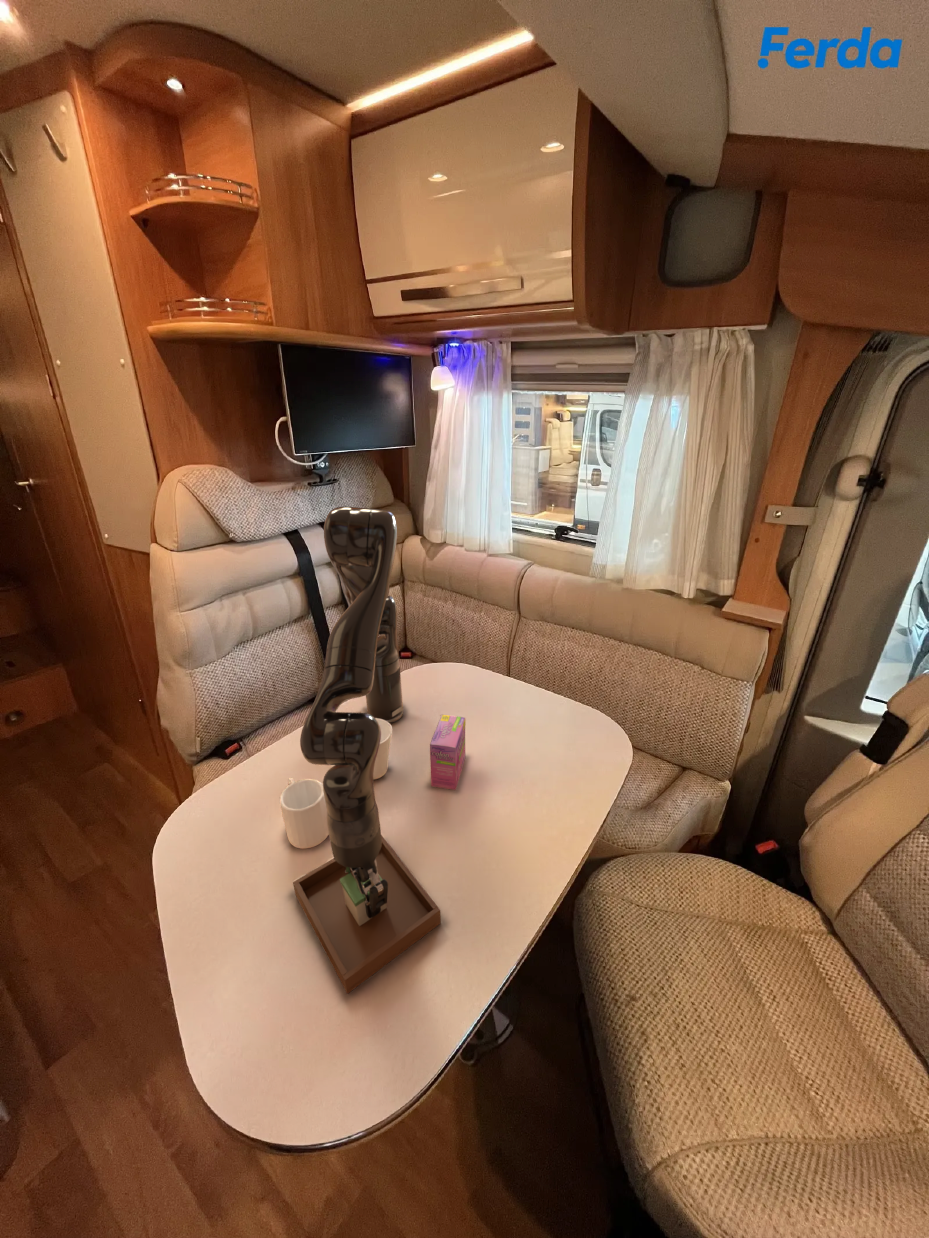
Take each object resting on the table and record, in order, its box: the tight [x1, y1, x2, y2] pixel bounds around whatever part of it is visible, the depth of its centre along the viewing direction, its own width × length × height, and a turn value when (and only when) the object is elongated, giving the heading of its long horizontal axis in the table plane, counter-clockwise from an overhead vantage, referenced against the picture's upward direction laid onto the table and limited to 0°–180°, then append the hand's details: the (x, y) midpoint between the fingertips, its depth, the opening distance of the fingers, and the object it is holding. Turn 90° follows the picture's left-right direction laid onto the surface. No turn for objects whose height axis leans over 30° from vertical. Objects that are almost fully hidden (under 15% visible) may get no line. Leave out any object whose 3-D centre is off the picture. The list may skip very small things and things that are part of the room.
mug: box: [279, 777, 329, 849], centre depth 97 cm, size 8×12×10 cm
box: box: [429, 714, 466, 791], centre depth 109 cm, size 10×6×12 cm, turn 168°
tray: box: [292, 834, 442, 995], centre depth 82 cm, size 20×17×3 cm
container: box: [340, 873, 387, 926], centre depth 81 cm, size 5×5×6 cm
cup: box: [373, 718, 393, 780], centre depth 110 cm, size 10×10×11 cm
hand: (365, 899), depth 82 cm, fingers closed on container, 5 cm apart
